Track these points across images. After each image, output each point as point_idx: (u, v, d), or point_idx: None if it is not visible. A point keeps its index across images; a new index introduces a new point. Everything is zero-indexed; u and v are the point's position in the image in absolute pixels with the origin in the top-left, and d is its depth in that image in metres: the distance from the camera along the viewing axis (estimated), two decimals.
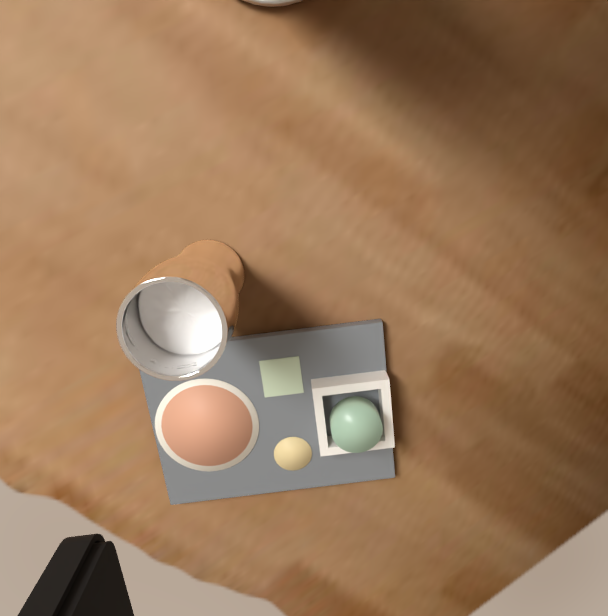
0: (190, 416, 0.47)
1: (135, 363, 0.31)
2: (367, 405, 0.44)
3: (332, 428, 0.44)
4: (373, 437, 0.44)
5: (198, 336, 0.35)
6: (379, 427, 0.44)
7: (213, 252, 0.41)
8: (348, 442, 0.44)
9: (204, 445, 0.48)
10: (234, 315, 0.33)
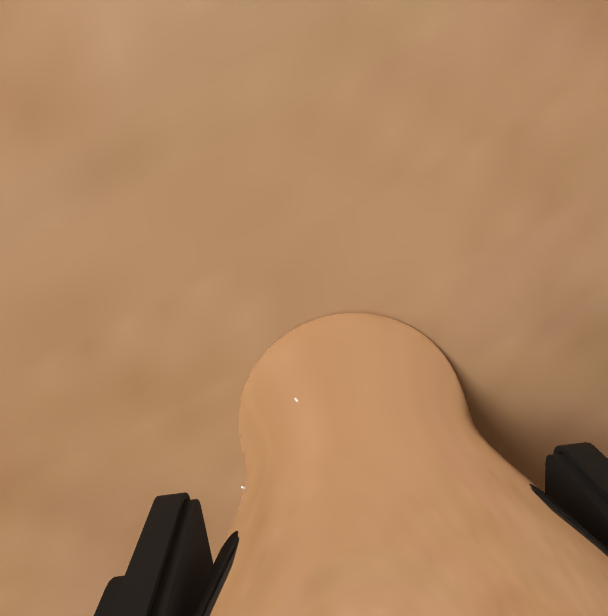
0: None
1: None
2: None
3: None
4: None
5: None
6: None
7: (416, 381, 0.10)
8: None
9: None
10: None
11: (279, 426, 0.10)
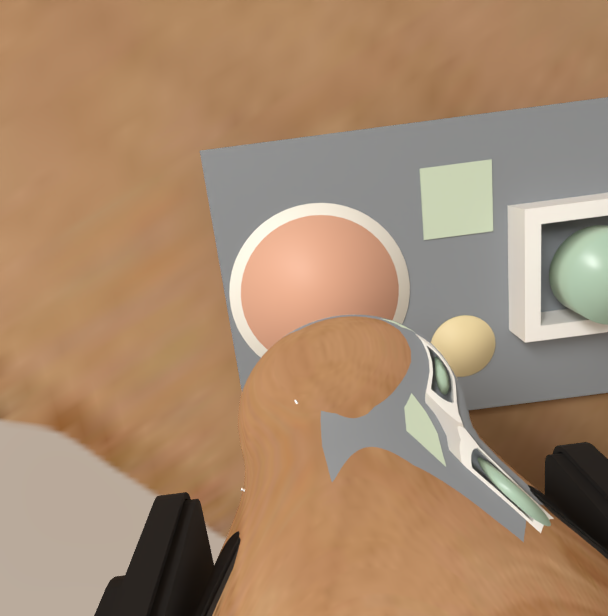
0: (292, 276, 0.27)
1: None
2: None
3: (573, 275, 0.23)
4: None
5: None
6: None
7: (416, 383, 0.10)
8: (598, 304, 0.24)
9: None
10: None
11: (279, 428, 0.10)
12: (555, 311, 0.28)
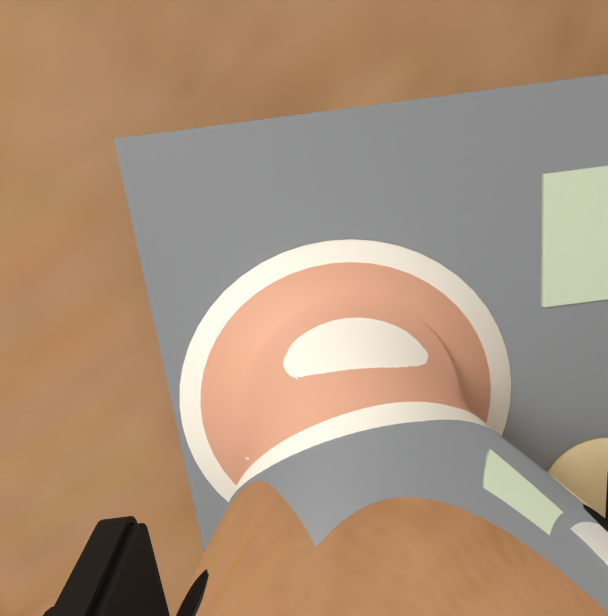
0: None
1: None
2: None
3: None
4: None
5: None
6: None
7: (408, 359, 0.11)
8: None
9: None
10: None
11: (280, 401, 0.11)
12: None
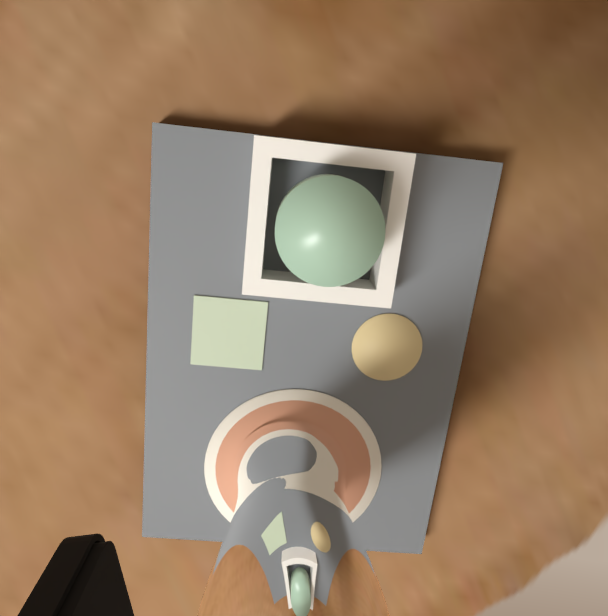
0: None
1: None
2: (285, 197, 0.20)
3: (312, 282, 0.21)
4: (357, 200, 0.20)
5: None
6: (336, 183, 0.20)
7: (243, 483, 0.24)
8: (354, 257, 0.21)
9: None
10: (316, 615, 0.15)
11: None
12: None
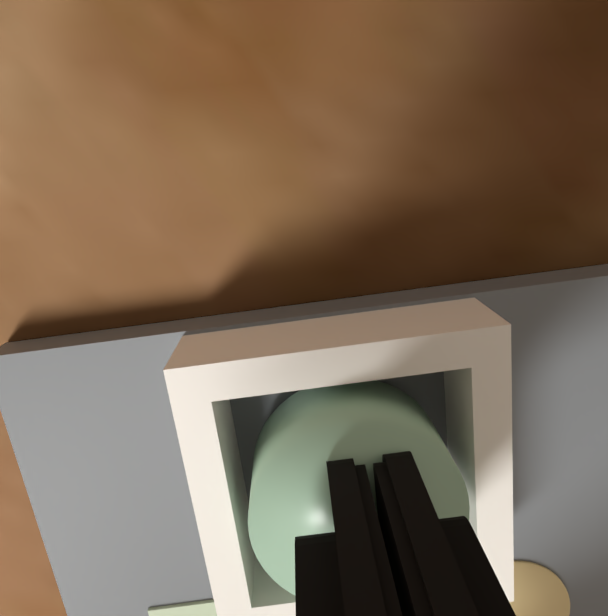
0: None
1: None
2: (257, 466, 0.10)
3: None
4: None
5: None
6: (349, 435, 0.10)
7: None
8: None
9: None
10: None
11: None
12: None
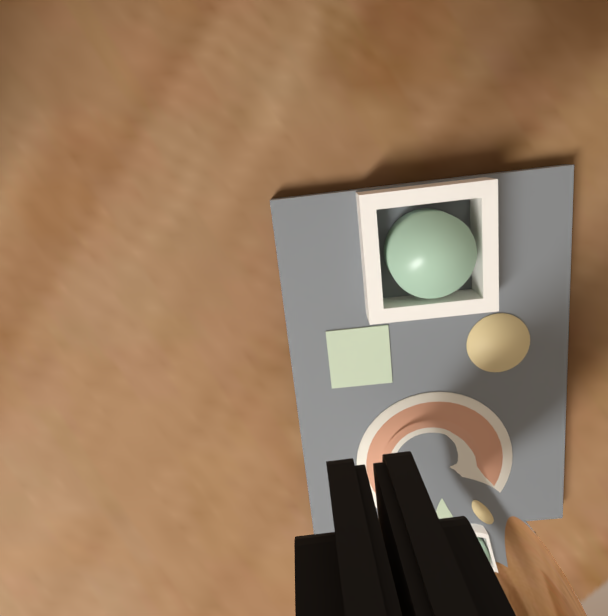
0: None
1: None
2: (391, 236, 0.26)
3: (425, 296, 0.26)
4: (450, 227, 0.25)
5: None
6: (430, 218, 0.25)
7: None
8: (454, 271, 0.26)
9: None
10: (507, 573, 0.19)
11: None
12: None
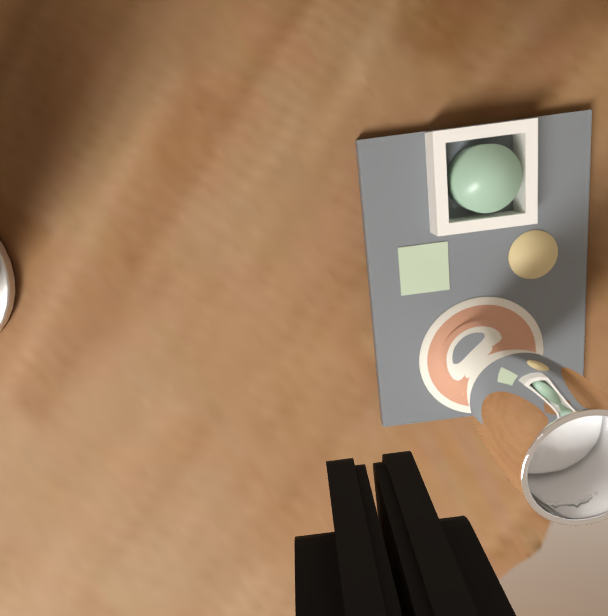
0: None
1: None
2: (456, 164, 0.34)
3: (482, 211, 0.34)
4: (502, 155, 0.33)
5: None
6: (487, 148, 0.33)
7: (460, 361, 0.36)
8: (505, 190, 0.34)
9: None
10: (566, 383, 0.27)
11: None
12: None
